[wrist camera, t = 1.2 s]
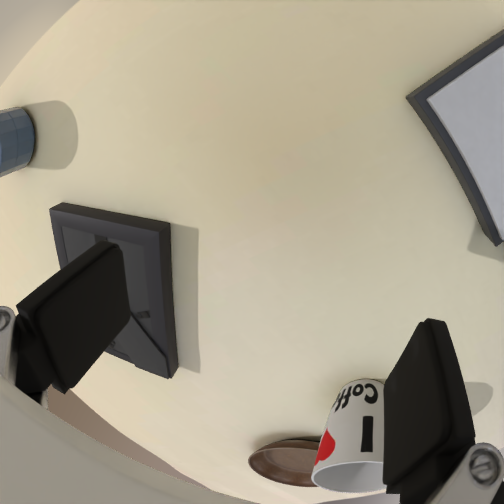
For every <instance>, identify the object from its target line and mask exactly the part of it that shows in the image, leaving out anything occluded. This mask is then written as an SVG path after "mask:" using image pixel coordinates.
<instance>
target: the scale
mask: <svg viewBox="0 0 504 504" xmlns="http://www.w3.org/2000/svg"><path fill="white" fill-rule="evenodd" d="M406 99H407V100H408V102H409V103H410V104H411V106H412V107H413V108H414V110H415V111H416V113H417V114H418V116H419V117H420V118H421V120H422V121H423V123H424V124H425V126H426V127H427V129H428V130H429V132H430V133H431V135H432V136H433V138H434V140H435V141H436V143H437V144H438V146H439V148H440V149H441V151H442V153H443V154H444V156H445V158H446V159H447V161H448V163H449V164H450V166H451V168H452V170H453V171H454V173H455V175H456V177H457V179H458V181H459V182H460V184H461V186H462V188H463V190H464V192H465V194H466V196H467V198H468V200H469V202H470V204H471V206H472V208H473V210H474V212H475V214H476V216H477V219H478V221H479V223H480V225H481V227H482V230H483V232H484V234H485V235H486V236H487V237H488V238H489V239H490V240H491V242H492V243H493V244H494V245H495V246H498V245H499V244H501V243H502V242H504V30H502V31H500V32H499V33H497V34H496V35H494V36H493V37H491V38H490V39H488V40H487V41H485V42H484V43H482V44H481V45H479V46H478V47H476V48H475V49H473V50H472V51H470V52H469V53H467V54H466V55H464V56H463V57H462V58H460V59H459V60H457V61H456V62H454V63H453V64H451V65H450V66H448V67H447V68H446V69H444V70H443V71H441V72H440V73H438V74H437V75H436V76H434V77H433V78H431V79H430V80H428V81H427V82H426V83H424V84H423V85H421V86H420V87H419V88H417V89H416V90H414V91H413V92H412V93H410V94H409V95H407V96H406Z"/></svg>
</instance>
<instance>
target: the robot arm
mask: <svg viewBox="0 0 504 504" xmlns="http://www.w3.org/2000/svg"><path fill="white" fill-rule="evenodd" d="M16 307H17V310H18V312H19V314H18V315H17V316H15V314H14V311H13V310H12V309H11V308H9V307H6V306H0V504H259V503H255V502H251V501H247V500H243V499H239V498H236V497H232V496H229V495H225V494H222V493H219V492H215V491H212V490H209V489H206V488H203V487H200V486H197V485H194V484H191V483H189V482H186V481H183V480H180V479H178V478H175V477H173V476H170V475H168V474H165V473H163V472H160V471H158V470H156V469H153V468H151V467H149V466H147V465H144V464H142V463H140V462H138V461H136V460H134V459H131V458H129V457H127V456H125V455H123V454H121V453H119V452H117V451H115V450H113V449H111V448H110V447H108V446H105V445H104V444H102V443H100V442H99V441H97V440H95V439H93V438H91V437H90V436H88V435H86V434H84V433H83V432H81V431H79V430H78V429H76V428H74V427H73V426H71V425H70V424H68V423H66V422H65V421H63V420H61V419H60V418H59V417H57V416H56V415H54V414H53V413H51V412H50V411H48V387H49V386H50V384H52V386H53V387H54V388H55V389H57V390H58V391H60V392H61V393H63V394H65V393H66V392H67V391H68V389H69V388H73V387H75V386H76V384H77V383H78V382H79V381H80V379H81V378H82V377H83V376H84V375H85V373H86V372H87V371H88V370H89V369H90V367H91V366H92V365H93V364H94V363H95V361H96V360H97V359H98V358H99V357H100V355H101V354H102V353H103V352H104V351H105V349H106V348H107V347H108V346H109V345H110V343H111V342H112V341H113V340H114V339H115V338H116V336H117V335H118V334H119V333H120V332H121V331H122V329H123V328H124V327H125V326H126V325H127V324H128V322H129V320H130V317H131V311H130V305H129V298H128V291H127V283H126V275H125V266H124V257H123V252H122V250H121V249H120V247H119V245H118V244H116V243H113V242H109V241H105V240H101V241H99V242H98V243H96V244H95V245H94V246H92V247H91V248H89V249H88V250H87V251H85V252H84V253H83V254H81V255H80V256H78V257H77V258H76V259H74V260H73V261H72V262H70V263H69V264H68V265H66V266H65V267H64V268H62V269H61V270H60V271H58V272H57V273H56V274H54V275H53V276H52V277H51V278H49V279H48V280H47V281H45V282H44V283H43V284H42V285H40V286H39V287H38V288H37V289H35V290H34V291H33V292H32V293H30V294H29V295H28V296H27V297H26V298H24V299H23V300H22V301H21V302H19V303H18V304H17V305H16ZM383 397H384V454H383V477H382V481H383V484H384V485H387V489H386V494H400V503H399V504H504V482H503V477H504V459H503V456H502V455H501V453H500V452H499V450H498V449H497V448H496V447H494V446H493V445H491V444H488V443H477V444H475V437H476V436H475V430H474V425H473V420H472V415H471V410H470V406H469V401H468V397H467V393H466V389H465V385H464V381H463V377H462V374H461V370H460V366H459V363H458V359H457V356H456V353H455V349H454V346H453V343H452V340H451V337H450V334H449V331H448V328H447V325H446V323H445V322H444V321H440V320H435V319H430V318H427V319H426V320H425V321H424V322H420V323H419V324H418V326H417V327H416V329H415V331H414V333H413V335H412V337H411V339H410V341H409V342H408V344H407V346H406V348H405V350H404V351H403V353H402V355H401V357H400V358H399V360H398V362H397V363H396V365H395V367H394V368H393V370H392V372H391V373H390V375H389V377H388V378H387V380H386V382H385V385H384V389H383Z"/></svg>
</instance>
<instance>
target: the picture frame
mask: <svg viewBox="0 0 504 504" xmlns="http://www.w3.org/2000/svg"><path fill="white" fill-rule="evenodd" d="M49 211H50V217H51V223H52V229H53V235H54V240H55V245H56V250H57V255H58V260H59V264H60V269H62V268H64V267H65V266H66V265H68V264H69V263H70V262H72V261H73V260H74V259H76V258H77V257H78V256H80V255H81V254H83V253H84V252H85V251H87V250H88V249H89V248H91V247H92V246H94V245H95V244H96V243H98V242H99V241H101V240H105V241H109V242H113V243H116V244H118V245H119V247H120V249H121V250H122V252H123V257H124V266H125V275H126V283H127V291H128V298H129V305H130V311H131V317H130V320H129V322H128V324H127V325H126V326H125V327H124V328H123V329H122V331H121V332H120V333H119V334H118V335H117V336H116V338H115V339H114V340H113V341H112V342H111V343H110V345H109V346H108V347H107V348H106V349H105V352H107V353H109V354H111V355H114V356H116V357H118V358H121V359H123V360H125V361H128V362H130V363H133V364H134V365H135V366H136V367H138V368H140V369H143V370H145V371H148V372H150V373H153V374H156V375H158V376H161V377H164V378H167V379H169V378H172V377H173V375H174V374H175V372H176V370H177V369H178V358H177V348H176V336H175V324H174V309H173V293H172V273H171V245H170V223H166V222H161V221H156V220H151V219H145V218H140V217H135V216H130V215H125V214H120V213H115V212H110V211H104V210H99V209H94V208H89V207H83V206H78V205H73V204H68V203H60V204H58V205H56V206H54V207H52V208H50V209H49Z"/></svg>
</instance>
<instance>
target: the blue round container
mask: <svg viewBox="0 0 504 504" xmlns="http://www.w3.org/2000/svg"><path fill="white" fill-rule="evenodd" d="M34 143H35V134H34V128H33V124H32V121H31V119H30V117H29V116H28V114H27V113H26V112H25V111H24V109H23V108H19V107H13V108H9V109H4V110H0V177H2V176H5V175H7V174H9V173H12V172H14V171H17V170H19V169H22V168H24V167H25V166H26V165H27V164H28V163H29V162H30V159H31V156H32V153H33V149H34Z"/></svg>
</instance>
